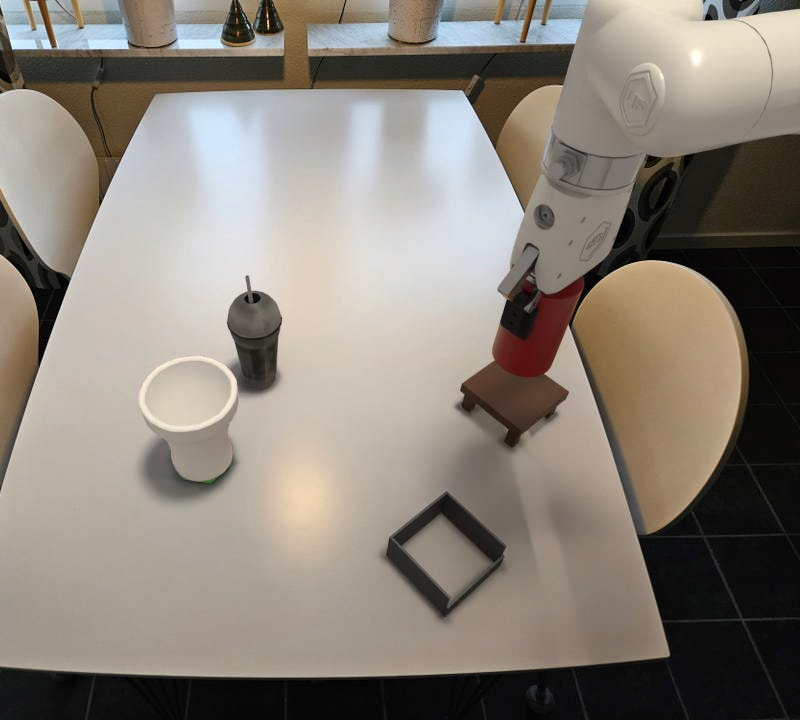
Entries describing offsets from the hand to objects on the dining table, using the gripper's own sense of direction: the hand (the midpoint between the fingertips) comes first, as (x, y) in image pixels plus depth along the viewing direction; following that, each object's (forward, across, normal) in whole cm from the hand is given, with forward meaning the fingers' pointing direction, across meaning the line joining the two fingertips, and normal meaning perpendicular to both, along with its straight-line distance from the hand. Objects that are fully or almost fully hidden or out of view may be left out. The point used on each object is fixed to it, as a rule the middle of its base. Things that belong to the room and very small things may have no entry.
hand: (536, 314), depth 65 cm
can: (+6, 0, 0) cm, 6 cm away
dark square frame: (+26, -15, -6) cm, 30 cm away
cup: (+26, -28, +23) cm, 45 cm away
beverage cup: (+26, -14, +30) cm, 42 cm away
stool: (+26, +8, +3) cm, 27 cm away
